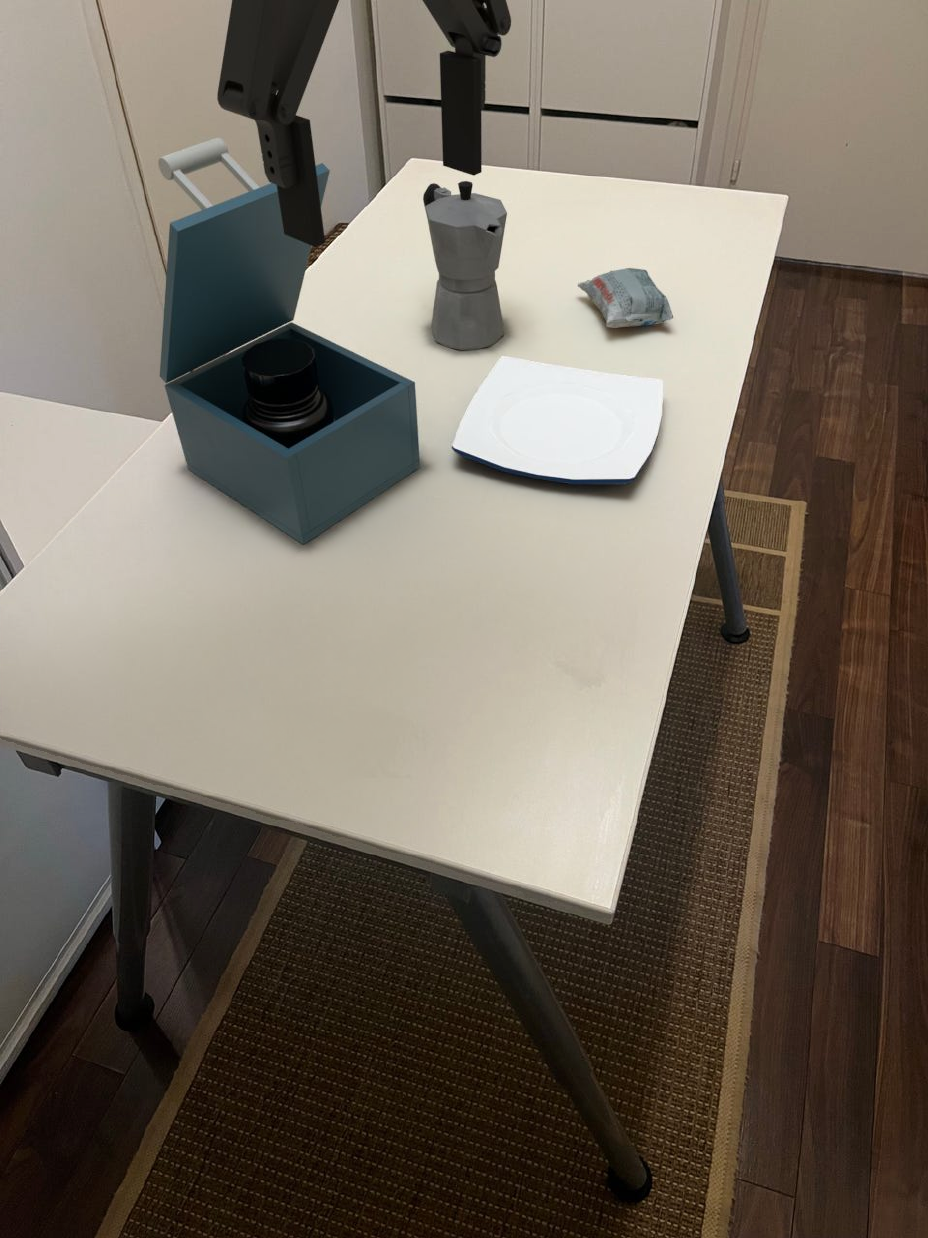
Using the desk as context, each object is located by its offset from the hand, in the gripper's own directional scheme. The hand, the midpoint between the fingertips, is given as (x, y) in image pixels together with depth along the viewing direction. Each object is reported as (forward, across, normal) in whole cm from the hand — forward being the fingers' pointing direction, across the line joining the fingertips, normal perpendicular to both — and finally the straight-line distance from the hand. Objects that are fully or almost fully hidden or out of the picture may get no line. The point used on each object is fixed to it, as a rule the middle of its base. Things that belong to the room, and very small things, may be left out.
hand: (388, 202), depth 57 cm
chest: (+35, +6, +22) cm, 42 cm away
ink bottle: (+34, +6, +23) cm, 41 cm away
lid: (+16, +6, +27) cm, 32 cm away
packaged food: (+35, +54, +16) cm, 66 cm away
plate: (+35, +28, +6) cm, 45 cm away
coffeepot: (+35, +38, +29) cm, 60 cm away
